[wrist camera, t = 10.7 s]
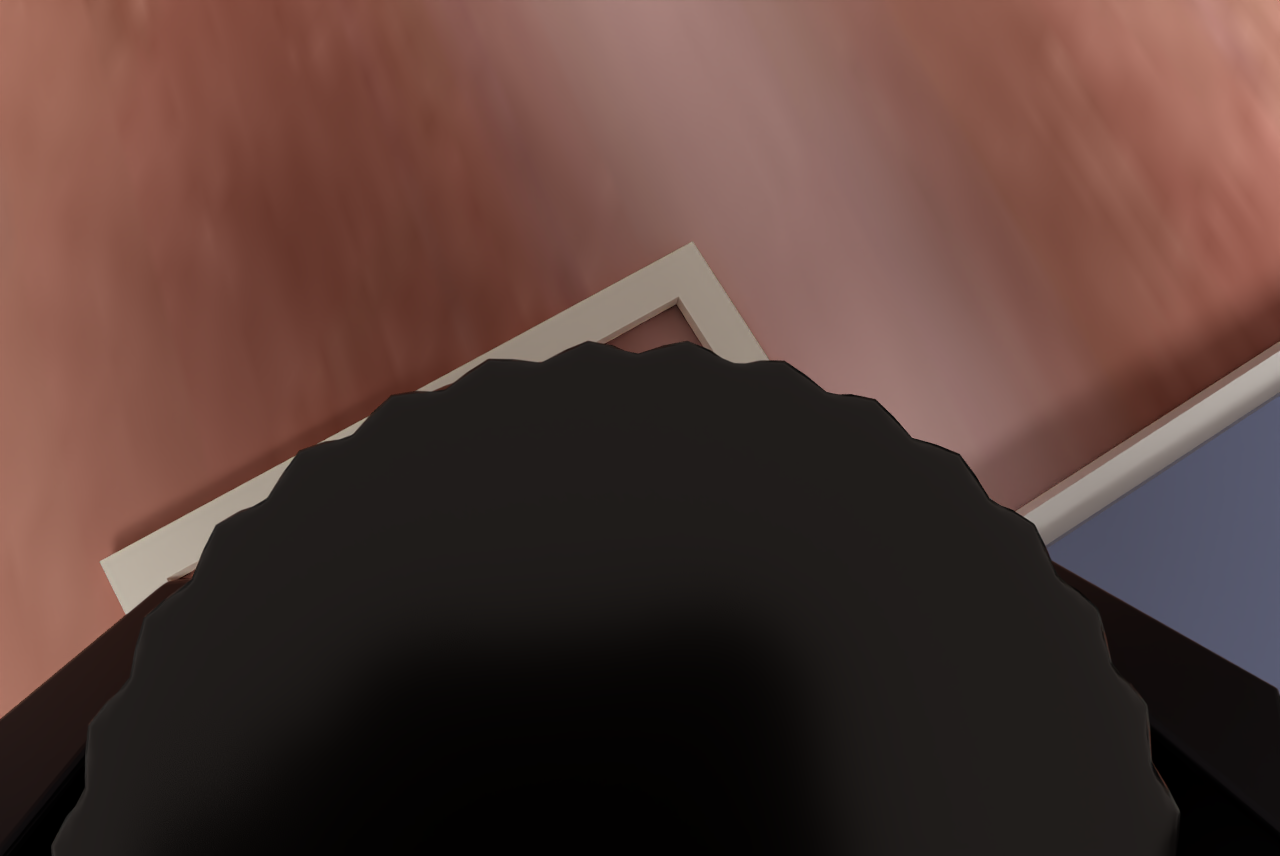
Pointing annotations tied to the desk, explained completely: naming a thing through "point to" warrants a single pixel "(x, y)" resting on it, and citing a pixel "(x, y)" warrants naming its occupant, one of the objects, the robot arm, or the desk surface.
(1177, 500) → the ink pad
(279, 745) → the supplement bottle
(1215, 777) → the robot arm
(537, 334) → the marked square
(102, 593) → the desk surface
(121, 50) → the desk surface
